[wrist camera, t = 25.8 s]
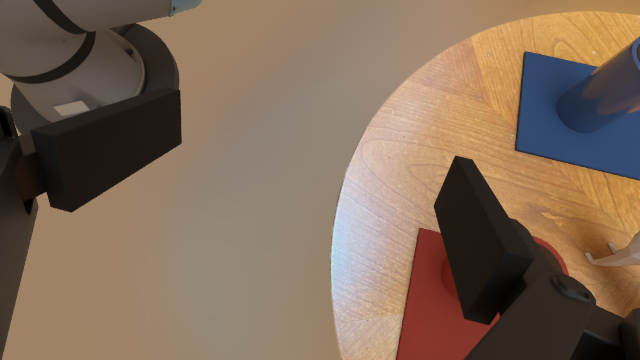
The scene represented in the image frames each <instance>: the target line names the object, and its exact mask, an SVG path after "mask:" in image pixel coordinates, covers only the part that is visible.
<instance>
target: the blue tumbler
mask: <svg viewBox="0 0 640 360" xmlns="http://www.w3.org/2000/svg"><path fill="white" fill-rule="evenodd" d="M638 109H640V37H638V38H637V39H635V40H634V41H633V42H631V43H630V44H629V45H627V46H626V47H625V48H623V49H622V50H621V51H619V52H618V53H617V54H615V55H614V56H613V57H611V58H610V59H609V60H607V61H606V62H605V63H603V64H602V65H601V66H600V67H598V68H597V69H596V70H594V71H593V72H592V73H590V74H589V75H588V76H586V77H585V78H584V79H582V80H581V81H580V82H578V83H577V84H576V85H574V86H573V87H572V88H570V89H569V90H568V91H566V92H565V93H564V94H562V95H561V96H560V98H559V99H558V101H557V113H558V115H559V117H560V119H561V120H562V122H563V123H564V124H565V125H566V126H568V127H569V128H571V129H572V130H574V131H577V132H580V133H594V132H597V131H599V130H600V129H602V128H604V127H606V126H608V125H610V124H612V123H614V122H616V121H618V120H619V119H621V118H623V117H625V116H627V115H629V114H631V113H633V112H635V111H636V110H638Z"/></svg>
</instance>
